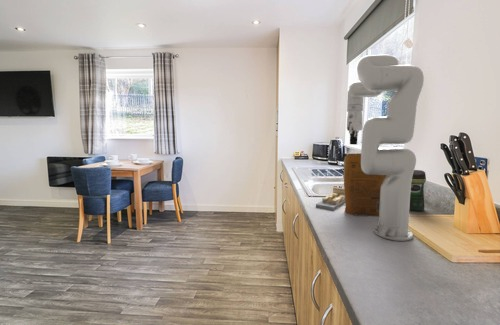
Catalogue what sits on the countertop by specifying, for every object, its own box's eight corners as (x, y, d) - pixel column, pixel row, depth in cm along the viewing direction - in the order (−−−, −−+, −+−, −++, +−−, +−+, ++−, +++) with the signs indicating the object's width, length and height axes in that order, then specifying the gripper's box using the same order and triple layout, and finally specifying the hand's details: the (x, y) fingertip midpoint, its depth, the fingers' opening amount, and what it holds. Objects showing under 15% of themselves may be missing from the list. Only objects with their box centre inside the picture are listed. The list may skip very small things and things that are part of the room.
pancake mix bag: (389, 218, 113) (393, 153, 109) (342, 215, 117) (344, 153, 114) (385, 213, 120) (388, 151, 116) (341, 210, 124) (342, 151, 120)
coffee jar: (421, 207, 127) (424, 169, 124) (425, 212, 119) (428, 171, 117) (398, 205, 130) (400, 168, 127) (401, 210, 123) (404, 171, 120)
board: (333, 210, 125) (333, 200, 124) (315, 207, 130) (316, 197, 130) (349, 200, 140) (349, 192, 139) (332, 198, 146) (332, 189, 145)
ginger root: (335, 204, 129) (336, 194, 128) (322, 201, 133) (322, 192, 133) (346, 197, 140) (347, 188, 139) (334, 195, 144) (334, 187, 144)
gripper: (356, 108, 128) (355, 145, 131) (367, 108, 139) (365, 143, 142) (341, 108, 133) (340, 145, 136) (352, 109, 144) (351, 142, 147)
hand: (353, 144), depth 139 cm, fingers closed
